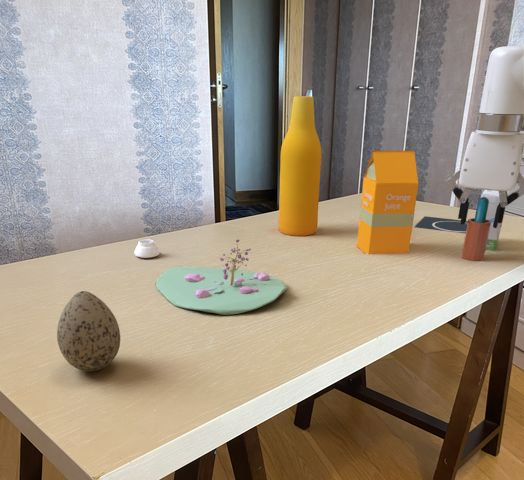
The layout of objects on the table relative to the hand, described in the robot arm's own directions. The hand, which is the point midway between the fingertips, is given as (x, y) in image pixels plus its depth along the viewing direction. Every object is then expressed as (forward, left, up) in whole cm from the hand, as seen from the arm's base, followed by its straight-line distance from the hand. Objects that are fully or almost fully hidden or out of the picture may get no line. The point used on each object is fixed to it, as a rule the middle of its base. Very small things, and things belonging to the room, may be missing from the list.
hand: (479, 223), depth 104 cm
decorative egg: (+36, +70, -8) cm, 79 cm away
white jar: (+59, +29, -8) cm, 66 cm away
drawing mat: (+7, -26, -7) cm, 28 cm away
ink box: (-1, -12, -8) cm, 14 cm away
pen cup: (0, 0, -7) cm, 7 cm away
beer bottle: (+40, -4, -8) cm, 41 cm away
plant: (+37, +39, -8) cm, 54 cm away
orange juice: (+18, +2, -8) cm, 20 cm away
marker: (0, 0, -7) cm, 7 cm away
